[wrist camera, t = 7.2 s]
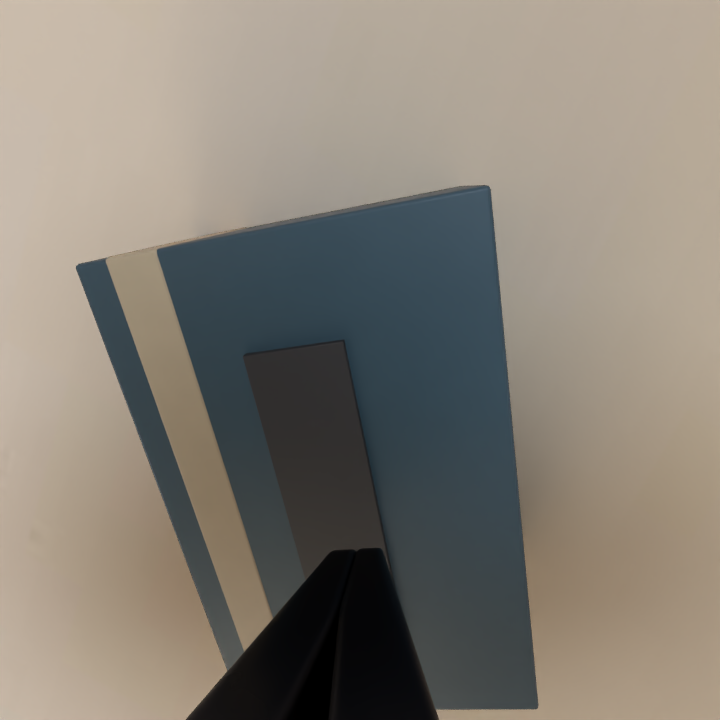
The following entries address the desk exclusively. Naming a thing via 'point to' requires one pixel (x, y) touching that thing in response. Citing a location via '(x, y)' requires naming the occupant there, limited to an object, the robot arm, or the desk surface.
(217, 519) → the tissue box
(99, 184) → the desk surface
